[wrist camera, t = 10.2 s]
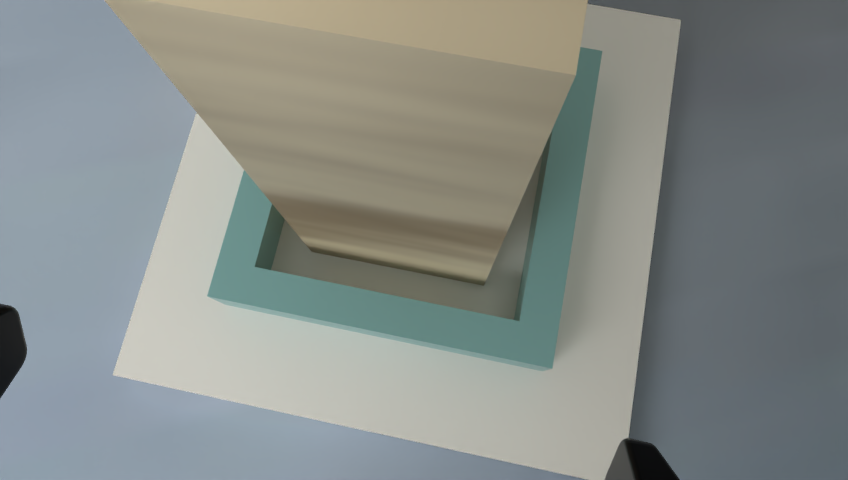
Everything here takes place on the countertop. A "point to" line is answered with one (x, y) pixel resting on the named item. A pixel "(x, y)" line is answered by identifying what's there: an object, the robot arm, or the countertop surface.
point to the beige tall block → (377, 112)
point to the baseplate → (434, 289)
